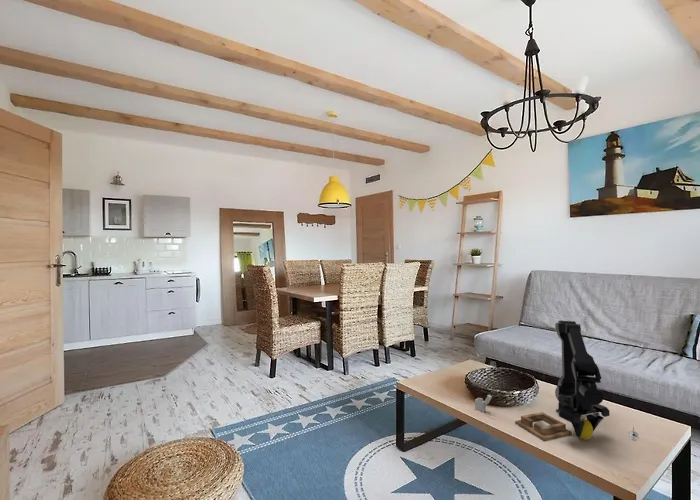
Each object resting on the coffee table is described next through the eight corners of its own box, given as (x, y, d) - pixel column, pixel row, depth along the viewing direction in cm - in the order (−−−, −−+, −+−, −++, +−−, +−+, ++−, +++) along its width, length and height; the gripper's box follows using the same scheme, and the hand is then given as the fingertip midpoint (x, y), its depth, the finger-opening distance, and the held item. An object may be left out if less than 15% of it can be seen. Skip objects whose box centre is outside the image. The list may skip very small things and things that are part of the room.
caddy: (542, 418, 150) (542, 410, 150) (572, 434, 137) (572, 425, 136) (515, 423, 145) (515, 414, 145) (543, 441, 132) (543, 431, 132)
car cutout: (644, 445, 130) (644, 433, 130) (621, 439, 135) (621, 427, 135) (645, 429, 142) (645, 418, 142) (624, 424, 146) (624, 413, 146)
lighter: (474, 409, 158) (474, 391, 158) (476, 408, 159) (476, 390, 159) (490, 414, 153) (490, 396, 153) (492, 413, 154) (492, 395, 154)
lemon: (593, 445, 129) (593, 423, 129) (575, 441, 132) (575, 419, 132) (592, 438, 134) (592, 417, 134) (575, 434, 137) (575, 413, 137)
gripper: (582, 382, 144) (582, 421, 144) (546, 388, 138) (546, 429, 138) (610, 393, 133) (610, 435, 133) (572, 400, 127) (572, 444, 127)
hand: (584, 435), depth 133 cm, fingers closed on lemon, 5 cm apart
